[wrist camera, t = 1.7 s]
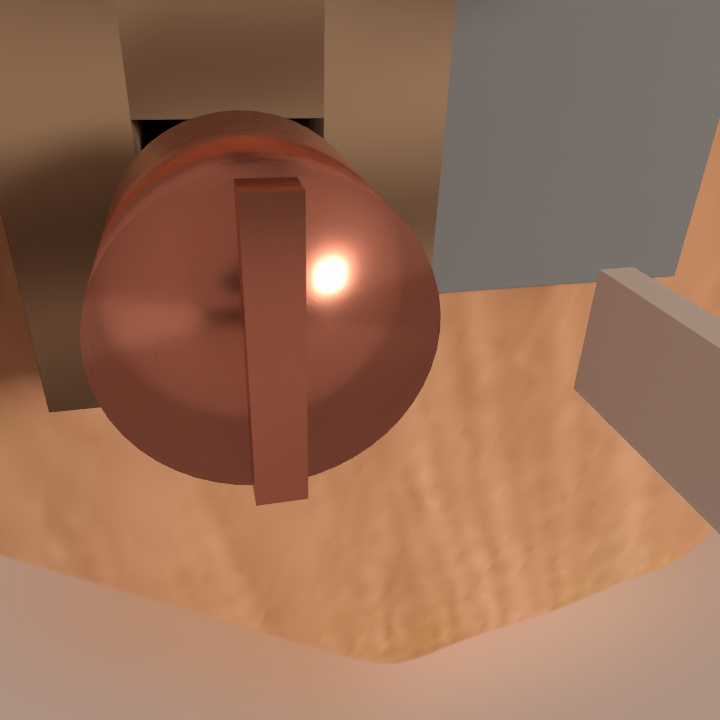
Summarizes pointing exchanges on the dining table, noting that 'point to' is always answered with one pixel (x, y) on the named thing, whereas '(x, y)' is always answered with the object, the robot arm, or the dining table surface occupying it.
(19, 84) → the eye block
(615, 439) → the dining table surface
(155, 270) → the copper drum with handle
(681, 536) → the dining table surface
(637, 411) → the robot arm
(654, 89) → the mat
